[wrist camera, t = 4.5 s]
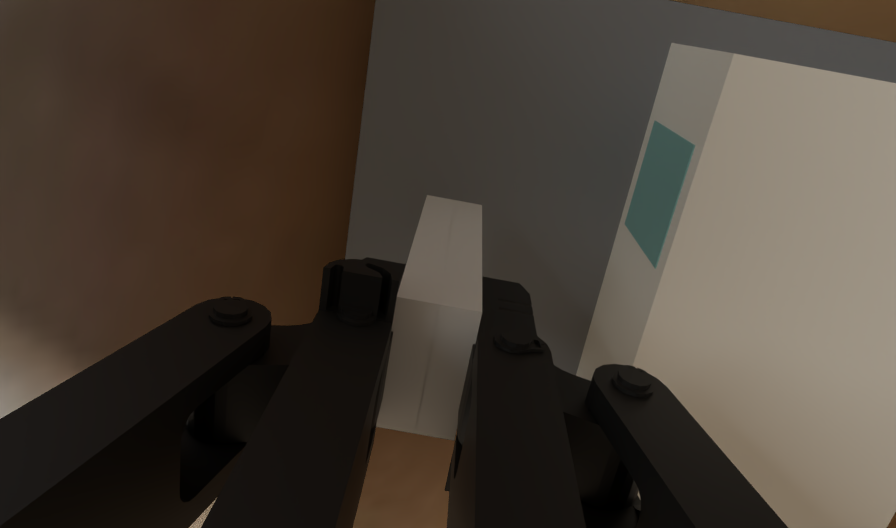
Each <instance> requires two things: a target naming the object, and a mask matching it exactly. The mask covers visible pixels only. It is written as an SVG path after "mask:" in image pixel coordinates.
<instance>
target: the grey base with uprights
mask: <svg viewBox="0 0 896 528" xmlns="http://www.w3.org/2000/svg"><path fill="white" fill-rule="evenodd" d="M671 43H676V44H682V45H688V46H694V47H700V48H706V49H711V50H717V51H723V52H729V53H735V54H740V55H746V56H751V57H756V58H762V59H767V60H773V61H778V62H783V63H789V64H794V65H800V66H805V67H811V68H816V69H821V70H827V71H832V72H838V73H843V74H848V75H854V76H859V77H865V78H870V79H875V80H881V81H886V82H892V83H896V43H895V42H890V41H885V40H879V39H874V38H868V37H863V36H858V35H852V34H847V33H842V32H836V31H831V30H825V29H820V28H815V27H809V26H804V25H799V24H793V23H788V22H783V21H777V20H772V19H766V18H761V17H756V16H750V15H745V14H740V13H734V12H729V11H723V10H718V9H713V8H707V7H702V6H697V5H691V4H686V3H681V2H675V1H670V0H376V1H375V10H374V18H373V27H372V35H371V44H370V52H369V61H368V69H367V78H366V86H365V95H364V103H363V112H362V120H361V128H360V137H359V145H358V154H357V162H356V171H355V179H354V188H353V196H352V205H351V213H350V222H349V230H348V239H347V247H346V255H345V259H360V260H362V259H364V258H366V257H369V258H375V259H380V260H386V261H391V262H397V263H402V264H406V263H407V260H408V257H409V253H410V250H411V247H412V244H413V240H414V237H415V234H416V230H417V227H418V224H419V220H420V217H421V214H422V210H423V207H424V204H425V200H426V197H427V195H430V196H435V197H441V198H446V199H452V200H457V201H463V202H468V203H474V204H479V205H482V276H483V277H489V278H494V279H500V280H505V281H511V282H516V283H520V284H521V285H522V286H523V287H524V288H525V289H526V291H527V292H528V293H529V294H530V298H531V303H532V306H531V307H532V309H533V316H534V321H535V327H536V332H537V336H538V337H539V338H540V339H542V340H543V341H544V342H545V343H547V345H548V347H549V349H550V350H551V354H552V359H553V364H554V365H555V366H556V367H558V368H560V369H562V370H564V371H566V372H568V373H571V374H573V375H576V373H577V370H578V366H579V363H580V359H581V356H582V352H583V349H584V345H585V342H586V338H587V335H588V331H589V328H590V324H591V321H592V318H593V314H594V311H595V307H596V304H597V300H598V297H599V293H600V290H601V286H602V283H603V279H604V276H605V272H606V269H607V265H608V262H609V258H610V255H611V251H612V248H613V244H614V241H615V238H616V234H617V231H618V227H619V224H620V220H621V217H622V213H623V210H624V206H625V203H626V199H627V196H628V192H629V189H630V185H631V182H632V178H633V175H634V171H635V168H636V164H637V161H638V158H639V154H640V151H641V147H642V144H643V140H644V137H645V133H646V130H647V126H648V123H649V119H650V116H651V112H652V109H653V105H654V102H655V98H656V95H657V91H658V88H659V84H660V81H661V78H662V74H663V71H664V67H665V64H666V60H667V57H668V53H669V50H670V46H671Z"/></svg>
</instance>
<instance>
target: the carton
mask: <svg viewBox="0 0 896 528" xmlns="http://www.w3.org/2000/svg"><path fill="white" fill-rule="evenodd" d="M606 364H620V365H630V366H634V367H635V368H640V369H642V370H645V371H646V372H647V373H648V374H650V375H652V376H654V377H656V378H657V379H659V380H660V381H661V382H662V383H663V384H664V385H666V386H667V387H668V389H669V390H670V391H671V392H672V393H673V394H674V396H675V397H676V398H677V399H678V400H679V401H680V402H681V404H682V405H683V406H684V407H685V408H686V409H687V411H688V412H689V413H690V414H691V415H692V416H693V418H694V419H695V420H696V421H697V422H698V423H699V425H700V426H701V427H702V428H703V429H704V430H705V432H706V433H707V434H708V435H709V436H710V437H711V438H712V440H713V441H714V442H715V443H716V444H717V445H718V447H719V448H720V449H721V450H722V451H723V452H724V454H725V455H726V456H727V457H728V458H729V459H730V461H731V462H732V463H733V464H734V465H735V466H736V468H737V469H738V470H739V471H740V472H741V473H742V474H743V476H744V477H745V478H746V479H747V480H748V481H749V483H750V484H751V485H752V486H753V487H754V488H755V490H756V491H757V492H758V493H759V494H760V495H761V497H762V498H763V499H764V500H765V501H766V502H767V503H768V505H769V506H770V507H771V508H772V509H773V510H774V512H775V513H776V514H777V515H778V516H779V517H780V519H781V520H782V521H783V522H784V523H785V524H786V526H787V527H788V528H887V526H888V525H889V523H890V521H891V519H892V517H893V516H894V514H895V512H896V83H892V82H886V81H881V80H875V79H870V78H865V77H859V76H854V75H848V74H843V73H838V72H832V71H827V70H821V69H816V68H811V67H805V66H800V65H794V64H789V63H783V62H778V61H773V60H767V59H762V58H756V57H751V56H746V55H740V54H735V53H729V52H723V51H717V50H711V49H706V48H700V47H694V46H688V45H682V44H676V43H671V46H670V50H669V53H668V57H667V60H666V64H665V67H664V71H663V74H662V78H661V81H660V84H659V88H658V91H657V95H656V98H655V102H654V105H653V109H652V112H651V116H650V119H649V123H648V126H647V130H646V133H645V137H644V140H643V144H642V147H641V151H640V154H639V158H638V161H637V164H636V168H635V171H634V175H633V178H632V182H631V185H630V189H629V192H628V196H627V199H626V203H625V206H624V210H623V213H622V217H621V220H620V224H619V227H618V231H617V234H616V238H615V241H614V244H613V248H612V251H611V255H610V258H609V262H608V265H607V269H606V272H605V276H604V279H603V283H602V286H601V290H600V293H599V297H598V300H597V304H596V307H595V311H594V314H593V318H592V321H591V324H590V328H589V331H588V335H587V338H586V342H585V345H584V349H583V352H582V356H581V359H580V363H579V366H578V370H577V373H576V376H578V377H581V378H584V379H587V380H590V381H591V380H592V377H593V374H594V371H595V369H596V368H598V367H600V366H602V365H606ZM637 495H638V497H639V498H640V494H639V491H638V494H637ZM640 500H641V499H640Z"/></svg>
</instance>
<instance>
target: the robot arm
mask: <svg viewBox="0 0 896 528" xmlns="http://www.w3.org/2000/svg"><path fill="white" fill-rule="evenodd" d="M531 306H532V303H531V298H530V294H529V293H528V292H527V291H526V289H525V288H524V287H523V286H522V285H521V284H520V283H516V282H511V281H505V280H500V279H494V278H489V277H483V276H482V205H479V204H474V203H468V202H463V201H457V200H452V199H446V198H441V197H435V196H430V195H427V197H426V200H425V204H424V207H423V210H422V214H421V217H420V220H419V224H418V227H417V230H416V234H415V237H414V240H413V244H412V247H411V250H410V253H409V257H408V260H407V263H406V264H402V263H397V262H391V261H386V260H380V259H375V258H369V257H366V258H364V259H362V260H360V259H342V260H337V261H333V262H330V263H329V264H327V265H326V266H325V267H324V269H323V278H322V287H321V296H320V305H319V311H318V313H317V314H316V316H315V318H314V320H313V322H312V323H309V324H303V325H292V326H271V312H270V311H269V310H268V309H267V308H266V307H265V306H263V305H261V304H259V303H256V302H254V301H251V300H246V299H243V298H240V297H233V298H231V297H221V298H218V299H211V300H207V301H204V302H202V303H199V304H197V305H195V306H193V307H191V308H190V309H188V310H186V311H185V312H183V313H181V314H179V315H178V316H176V317H174V318H173V319H171V320H169V321H167V322H166V323H164V324H162V325H161V326H159V327H157V328H155V329H154V330H152V331H150V332H149V333H147V334H145V335H143V336H142V337H140V338H138V339H137V340H135V341H133V342H131V343H130V344H128V345H126V346H125V347H123V348H121V349H119V350H118V351H116V352H114V353H113V354H111V355H109V356H107V357H106V358H104V359H102V360H101V361H99V362H97V363H95V364H94V365H92V366H90V367H89V368H87V369H85V370H83V371H82V372H80V373H78V374H77V375H75V376H73V377H71V378H70V379H68V380H66V381H65V382H63V383H61V384H59V385H58V386H56V387H54V388H53V389H51V390H49V391H47V392H46V393H44V394H42V395H41V396H39V397H37V398H35V399H34V400H32V401H30V402H29V403H27V404H25V405H23V406H22V407H20V408H18V409H17V410H15V411H13V412H11V413H10V414H8V415H6V416H5V417H3V418H1V419H0V528H189V527H190V526H191V524H192V523H193V522H194V521H195V520H196V519H197V518H198V517H199V516H200V515H201V514H202V513H203V512H204V511H205V510H206V509H207V507H208V506H209V505H210V504H211V503H212V502H213V501H214V500H215V499H216V498H217V499H216V501H215V503H214V505H213V507H212V508H211V510H210V512H209V514H208V516H207V518H206V520H205V521H204V523H203V525H202V527H201V528H353V524H354V520H355V516H356V511H357V507H358V503H359V499H360V495H361V491H362V487H363V483H364V479H365V475H366V471H367V467H368V463H369V459H370V455H371V451H372V447H373V442H374V436H375V430H376V427H380V428H386V429H391V430H397V431H403V432H408V433H414V434H420V435H425V436H431V437H437V438H442V439H448V440H455V435H456V430H457V436H456V440H455V445H454V450H453V454H452V459H451V463H450V468H449V472H448V477H447V482H446V486H445V491H449V504H448V518H447V528H788V527H787V526H786V524H785V523H784V522H783V521H782V520H781V519H780V517H779V516H778V515H777V514H776V513H775V512H774V510H773V509H772V508H771V507H770V506H769V505H768V503H767V502H766V501H765V500H764V499H763V498H762V497H761V495H760V494H759V493H758V492H757V491H756V490H755V488H754V487H753V486H752V485H751V484H750V483H749V481H748V480H747V479H746V478H745V477H744V476H743V474H742V473H741V472H740V471H739V470H738V469H737V468H736V466H735V465H734V464H733V463H732V462H731V461H730V459H729V458H728V457H727V456H726V455H725V454H724V452H723V451H722V450H721V449H720V448H719V447H718V445H717V444H716V443H715V442H714V441H713V440H712V438H711V437H710V436H709V435H708V434H707V433H706V432H705V430H704V429H703V428H702V427H701V426H700V425H699V423H698V422H697V421H696V420H695V419H694V418H693V416H692V415H691V414H690V413H689V412H688V411H687V409H686V408H685V407H684V406H683V405H682V404H681V402H680V401H679V400H678V399H677V398H676V397H675V396H674V394H673V393H672V392H671V391H670V390H669V389H668V387H667V386H666V385H664V384H663V383H662V382H661V381H660V380H659V379H657V378H656V377H654V376H652V375H650V374H648V373H647V372H646V371H645V370H642V369H640V368H635V367H634V366H630V365H620V364H606V365H602V366H600V367H598V368H596V369H595V371H594V374H593V377H592V380H591V381H590V380H587V379H584V378H581V377H578V376H576V375H573V374H571V373H568V372H566V371H564V370H562V369H560V368H558V367H556V366H555V365H554V364H553V359H552V354H551V350H550V349H549V347H548V345H547V343H545V342H544V341H543V340H542V339H540V338H539V337H538V336H537V332H536V327H535V321H534V316H533V309H532V307H531ZM457 426H458V427H457ZM638 491H639V494H640V498H639V497H638V495H637V494H638ZM640 499H641V500H640Z"/></svg>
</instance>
